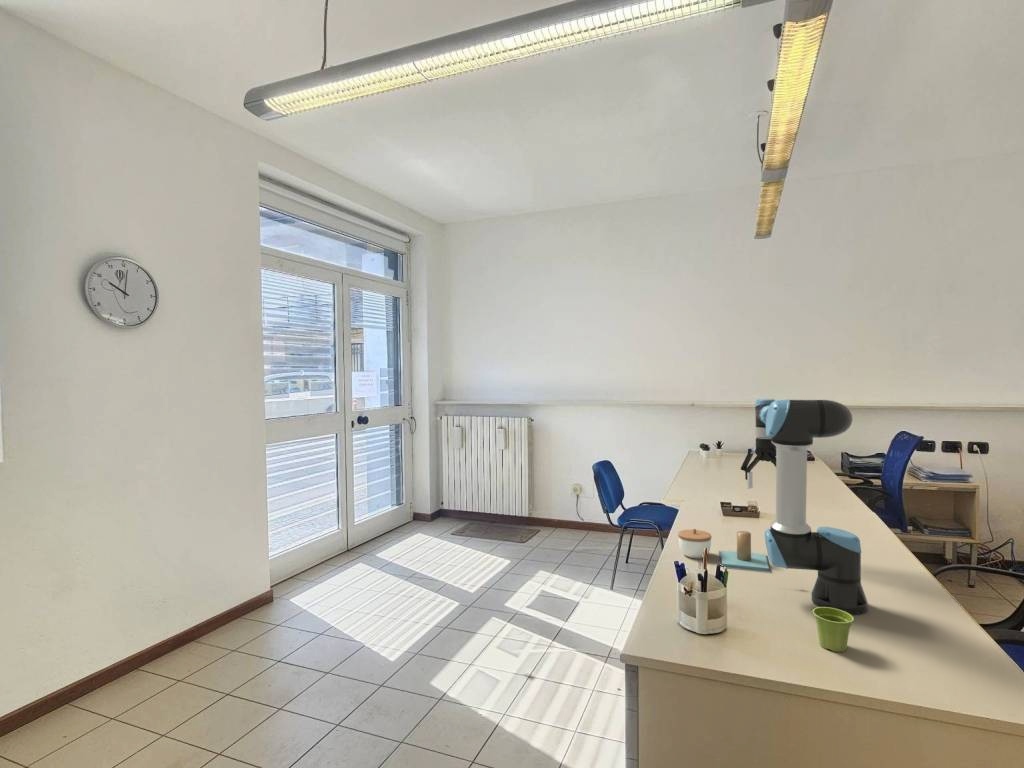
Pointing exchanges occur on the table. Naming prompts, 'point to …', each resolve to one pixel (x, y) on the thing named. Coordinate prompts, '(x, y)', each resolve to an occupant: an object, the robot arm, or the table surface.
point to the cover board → (743, 564)
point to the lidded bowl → (694, 542)
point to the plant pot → (833, 627)
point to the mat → (744, 568)
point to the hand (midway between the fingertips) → (766, 490)
